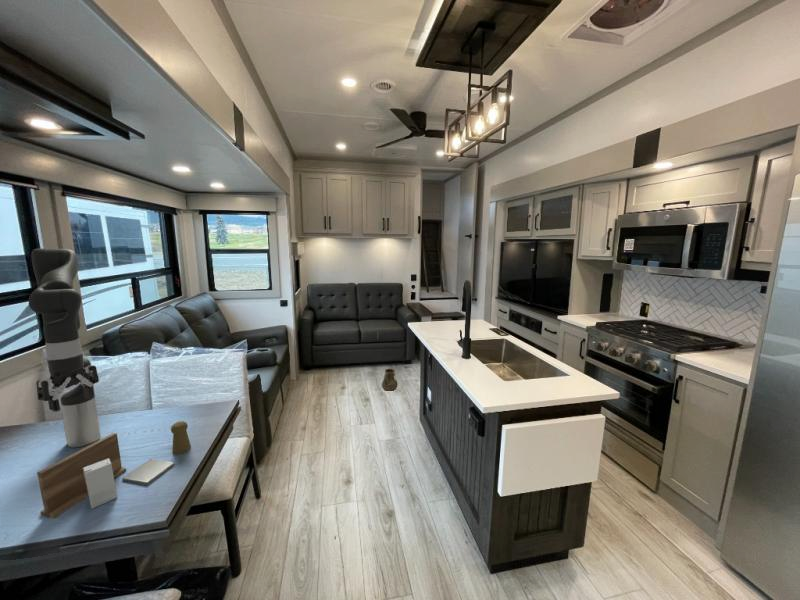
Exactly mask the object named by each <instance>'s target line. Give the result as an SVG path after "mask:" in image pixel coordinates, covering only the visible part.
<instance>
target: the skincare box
mask: <svg viewBox="0 0 800 600" xmlns="http://www.w3.org/2000/svg"><path fill="white" fill-rule="evenodd" d="M83 471H84V476H85V481H86V486H87V491H88V496H87V497H88V499H89V504H90V505H89V506H90V508H91V509H95V508H96V507H99V506H102V505H103V504H106V503H108V502H110V501H112V500H115V499H117V498H118V494H117V487H116V482H115V479H114V475H113V470H112V464H111V462H110V459H109V458H108V459H105V460H103V461H100V462H97V463H95V464H92V465H89V466H87V467H84V468H83Z"/></svg>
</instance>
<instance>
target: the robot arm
mask: <svg viewBox="0 0 800 600" xmlns="http://www.w3.org/2000/svg"><path fill="white" fill-rule="evenodd" d="M30 256H31V257H30V258H31V264H32V268H33V272H34V275H35V279H36V284H37V285H36V286H37V288H35V289H34V290H33V291H32V292H31V294H30V296H28V297H29V299H28V306H29V308H30V310H31V311H32V312H34V313H35V314H37V315H38V314H39V315H41V318H42V324H43V325H42V329H43V336H44V340H45V357H46V361H47V367H48V372H49V375H50V377H49V378H48V379H47V378H46V379H41V380H40V379H39V380H37V381H36V392H37V393H36V395H37V400H38V401H41V402H42V401H43V402H48V403H47V404H48V408H49V410H50V411H51V412H60V411H61V410H62V416H63V421H62V424H63V430H64V436H65V440H66V444H67V446H68V447H69V448H74V449H75V448H81V447H86V446H89V445H91V444H93V443H95V442H97V441H99V440H100V439H101V437H102V436H101V435H102V434H101V429H100V422H99V421H100V420H99V414H98V409H97V402H96V396H95V387H94V385H95V384H97V383H99V381H100V379H99V374H98V369H97V366H96V365H92V363H91V360H89V358H87V357H84V354H83V348H82V342H81V340H80V335H79V330H80V327H81V320H80V309H81V306H82V305H81V304H82V296H81V294H80V293H79V291H78V290H76V289H74V284H73V283H74V279H75V278H76V276H77V273H78V270H79V261H78V256H77V254H76V252H75V251H74V250H72V249H69V248H35V249H33V250H32V251H31V255H30ZM51 384H52V385H51ZM50 386H51V387H50ZM72 386H76V387H74V388H73V389H71V390H69V391H67V392H65V393H64V394H63V395H61V394H62V393H63V391H65V389H68V388H71V387H72ZM60 395H61V397H60V399H59V396H60ZM60 405H61V406H60Z"/></svg>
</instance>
